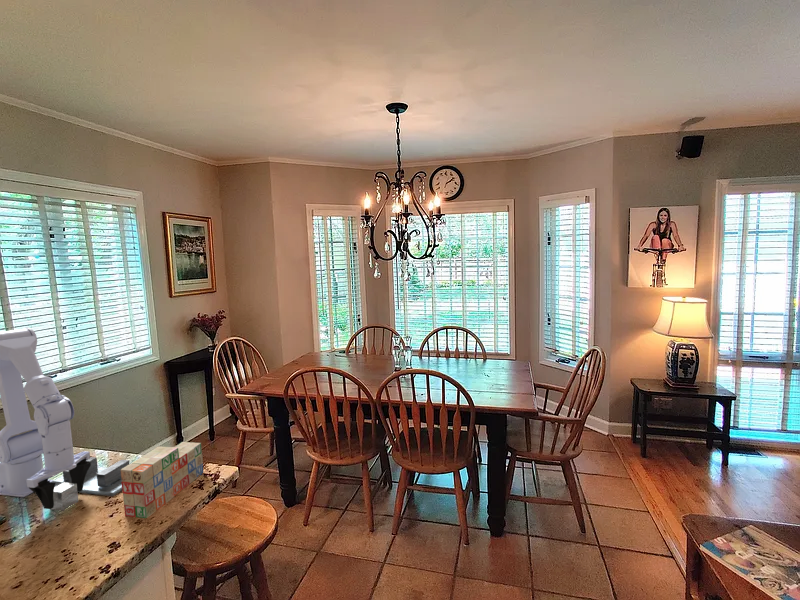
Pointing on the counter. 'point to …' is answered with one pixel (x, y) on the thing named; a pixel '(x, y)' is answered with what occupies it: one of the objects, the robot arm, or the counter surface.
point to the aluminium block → (65, 496)
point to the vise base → (92, 481)
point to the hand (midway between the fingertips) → (63, 499)
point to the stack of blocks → (159, 477)
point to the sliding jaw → (111, 473)
